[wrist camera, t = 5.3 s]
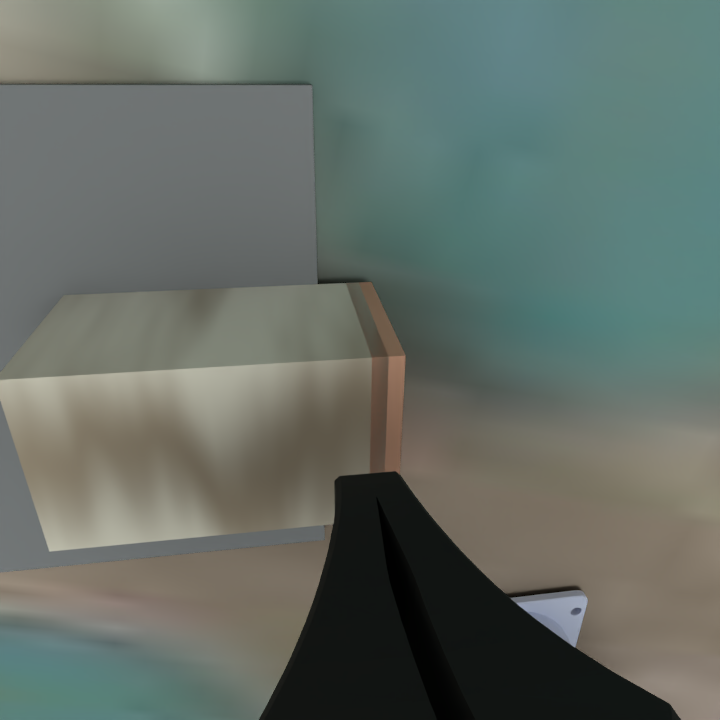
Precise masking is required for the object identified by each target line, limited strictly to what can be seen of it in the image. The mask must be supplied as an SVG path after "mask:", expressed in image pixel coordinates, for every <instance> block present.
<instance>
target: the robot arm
mask: <svg viewBox="0 0 720 720" xmlns="http://www.w3.org/2000/svg"><path fill="white" fill-rule="evenodd" d="M334 494H335V516H334V524H333V529H332V534H331V539H330V544H329V549H328V553H327V557H326V561H325V564H324V568H323V572H322V575H321V579H320V582H319V586H318V589H317V592H316V595H315V598H314V601H313V604H312V606H311V609H310V612H309V614H308V617H307V620H306V622H305V625H304V627H303V630H302V632H301V635H300V637H299V639H298V642H297V644H296V646H295V649H294V651H293V653H292V656H291V658H290V660H289V662H288V664H287V666H286V669H285V671H284V673H283V675H282V677H281V679H280V680H279V682H278V684H277V686H276V688H275V690H274V692H273V694H272V696H271V698H270V700H269V702H268V704H267V706H266V708H265V710H264V711H263V713H262V715H261V717H260V719H259V720H681V719H680V718H679V716H678V715H677V714H676V712H675V711H674V709H673V708H672V706H671V705H670V704H669V703H667V702H665V701H664V700H662V699H660V698H658V697H656V696H655V695H653V694H651V693H649V692H648V691H646V690H644V689H642V688H640V687H639V686H637V685H635V684H633V683H632V682H630V681H628V680H626V679H624V678H623V677H621V676H619V675H617V674H616V673H614V672H612V671H611V670H609V669H607V668H606V667H604V666H603V665H601V664H600V663H598V662H596V661H595V660H593V659H592V658H590V657H589V656H587V655H586V654H584V653H582V652H581V651H579V650H578V649H576V648H575V647H576V643H577V639H578V636H579V632H580V628H581V625H582V621H583V617H584V614H585V610H586V606H587V603H588V599H587V597H586V595H585V594H584V592H583V591H580V590H572V591H564V592H555V593H547V594H538V595H530V596H521V597H513V598H510V597H508V596H507V595H506V594H505V593H504V592H503V591H502V590H500V589H499V588H498V587H497V586H496V585H495V584H494V583H493V582H492V581H491V580H490V579H488V578H487V577H486V576H485V575H484V574H483V573H482V572H481V571H480V570H479V569H478V568H477V567H476V566H475V565H474V564H473V563H472V562H471V561H470V560H469V559H468V558H467V557H466V556H465V555H464V553H463V552H462V551H461V550H460V549H459V548H458V547H457V546H456V545H455V544H454V543H453V542H452V540H451V539H450V538H449V537H448V536H447V535H446V533H445V532H444V531H443V530H442V529H441V528H440V527H439V525H438V524H437V523H436V522H435V521H434V519H433V518H432V517H431V516H430V515H429V513H428V512H427V511H426V510H425V508H424V507H423V506H422V504H421V503H420V502H419V501H418V499H417V498H416V497H415V495H414V494H413V493H412V491H411V490H410V488H409V487H408V486H407V484H406V483H405V481H404V480H403V478H402V477H401V475H400V474H398V473H397V472H396V471H392V472H380V473H368V474H357V475H345V476H339V477H338V478H337V479H336V480H335V481H334Z"/></svg>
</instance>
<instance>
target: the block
mask: <svg viewBox="0 0 720 720" xmlns="http://www.w3.org/2000/svg"><path fill="white" fill-rule="evenodd" d="M405 359H406V355H405V353H404V351H403V349H402V347H401V345H400V342H399V340H398V338H397V336H396V334H395V332H394V329H393V327H392V325H391V323H390V321H389V319H388V317H387V314H386V312H385V310H384V308H383V306H382V304H381V301H380V299H379V297H378V295H377V293H376V291H375V289H374V286H373V284H372V282H359V283H335V284H312V285H289V286H265V287H242V288H219V289H195V290H172V291H149V292H125V293H102V294H78V295H63V297H62V298H61V299H60V300H59V301H58V303H57V304H56V305H55V306H54V308H53V309H52V310H51V311H50V312H49V314H48V315H47V316H46V317H45V318H44V320H43V321H42V322H41V323H40V325H39V326H38V327H37V328H36V329H35V331H34V332H33V333H32V334H31V336H30V337H29V338H28V339H27V340H26V342H25V343H24V344H23V345H22V347H21V348H20V349H19V350H18V351H17V353H16V354H15V355H14V356H13V357H12V359H11V360H10V361H9V362H8V364H7V365H6V366H5V367H4V368H3V370H2V371H1V372H0V401H1V404H2V407H3V410H4V413H5V417H6V420H7V423H8V426H9V429H10V432H11V435H12V438H13V441H14V444H15V447H16V450H17V453H18V456H19V460H20V463H21V466H22V469H23V472H24V475H25V478H26V481H27V484H28V487H29V490H30V493H31V496H32V500H33V503H34V506H35V509H36V512H37V515H38V518H39V521H40V524H41V527H42V530H43V533H44V536H45V539H46V543H47V546H48V549H49V552H51V551H61V550H71V549H82V548H92V547H102V546H113V545H123V544H134V543H144V542H154V541H165V540H175V539H185V538H196V537H206V536H216V535H227V534H237V533H248V532H258V531H268V530H279V529H289V528H299V527H310V526H320V525H330V524H334V516H335V494H334V481H335V480H336V479H337V478H338V477H339V476H345V475H357V474H368V473H380V472H392V471H396V472H397V473H398V474H400V459H401V439H402V419H403V399H404V379H405Z"/></svg>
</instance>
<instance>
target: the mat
mask: <svg viewBox="0 0 720 720" xmlns="http://www.w3.org/2000/svg"><path fill="white" fill-rule="evenodd" d="M312 284H318V279H317V242H316V206H315V170H314V133H313V97H312V85H311V84H0V372H1V371H2V370H3V368H4V367H5V366H6V365H7V364H8V362H9V361H10V360H11V359H12V357H13V356H14V355H15V354H16V353H17V351H18V350H19V349H20V348H21V347H22V345H23V344H24V343H25V342H26V340H27V339H28V338H29V337H30V336H31V334H32V333H33V332H34V331H35V329H36V328H37V327H38V326H39V325H40V323H41V322H42V321H43V320H44V318H45V317H46V316H47V315H48V314H49V312H50V311H51V310H52V309H53V308H54V306H55V305H56V304H57V303H58V301H59V300H60V299H61V298H62V297H63V295H78V294H102V293H125V292H149V291H172V290H195V289H219V288H242V287H265V286H289V285H312ZM319 540H325V533H324V525H320V526H310V527H299V528H289V529H279V530H268V531H258V532H248V533H237V534H227V535H216V536H206V537H196V538H185V539H175V540H165V541H154V542H144V543H134V544H123V545H113V546H102V547H92V548H82V549H71V550H61V551H51V552H49V549H48V546H47V543H46V539H45V536H44V533H43V530H42V527H41V524H40V521H39V518H38V515H37V512H36V509H35V506H34V503H33V500H32V496H31V493H30V490H29V487H28V484H27V481H26V478H25V475H24V472H23V469H22V466H21V463H20V460H19V456H18V453H17V450H16V447H15V444H14V441H13V438H12V435H11V432H10V429H9V426H8V423H7V420H6V417H5V413H4V410H3V407H2V404H1V401H0V572H9V571H19V570H29V569H39V568H49V567H59V566H69V565H79V564H89V563H99V562H109V561H119V560H129V559H139V558H149V557H159V556H169V555H179V554H189V553H199V552H209V551H219V550H229V549H239V548H249V547H259V546H269V545H279V544H289V543H299V542H309V541H319Z"/></svg>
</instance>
